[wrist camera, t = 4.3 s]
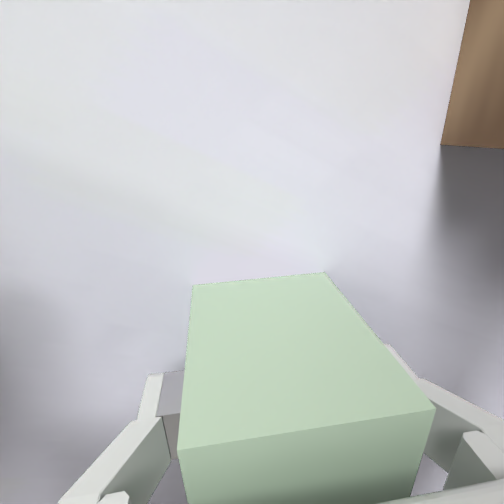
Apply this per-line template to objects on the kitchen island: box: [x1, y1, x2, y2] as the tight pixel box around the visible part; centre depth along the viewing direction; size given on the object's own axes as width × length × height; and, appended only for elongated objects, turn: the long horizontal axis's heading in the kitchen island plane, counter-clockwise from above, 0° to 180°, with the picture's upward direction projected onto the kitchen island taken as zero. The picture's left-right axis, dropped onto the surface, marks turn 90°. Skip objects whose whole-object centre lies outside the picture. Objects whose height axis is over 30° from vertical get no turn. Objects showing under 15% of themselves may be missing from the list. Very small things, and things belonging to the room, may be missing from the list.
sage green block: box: [177, 272, 436, 504], centre depth 9 cm, size 5×5×6 cm
